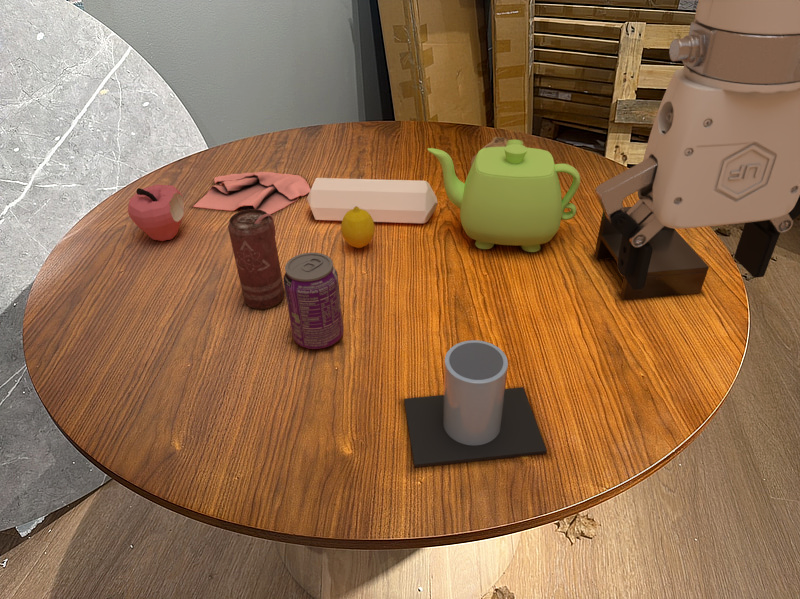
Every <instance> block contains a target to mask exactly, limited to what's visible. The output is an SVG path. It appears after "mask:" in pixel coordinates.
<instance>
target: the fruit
mask: <svg viewBox="0 0 800 599" xmlns="http://www.w3.org/2000/svg"><path fill="white" fill-rule="evenodd" d="M340 230H341V235H342V238H343V239H344V240H345V242H346V243H347V244H348V245H349V246H351V247H354V248H356V249H362V248H363V247H366V246H367V245H369V244H370V243H371V242H372V240H373V238H374V235H375V233H376V232H375V231H376V226H375V222H373V219H372V217H371V216H370V214H369V213H368V212H367V211H365V210H363V209H359V207H357V206H356V207H354V209H352V210H350V211H348V212H347V213H346V214H345V216H344V218H343V221H341V224H340Z"/></svg>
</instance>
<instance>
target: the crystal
mask: <svg viewBox="0 0 800 599" xmlns="http://www.w3.org/2000/svg"><path fill="white" fill-rule="evenodd" d="M310 189H311V190H310V192H309V194H307V197H306V201H307V203H308V205H309V208H310V210H311V212H312V215H313V217H314V220H316V221H339V222H342V221H343V218H344V216H345V214H346V213H347V212H348V211H350V210H352V209H354V207H356V206H357V207H359V209H363V210H365V211H367V212H368V213H369V214H370V216H371V217H372V219H373V222H374V223H399V224H402V223H403V224H426V223H427V222H428V221H429V220H430V219H431V217H432V216H433V214H434V212H435V211H436V210H437V206H438V204H439V203H438V198H437V195H436V194H435V192H434V190H433V188H432V186H431V184H430V183H429V182H428V181H427V180H413V179H410V180H408V179H380V178H379V179H374V178H373V179H372V178H340V177H339V178H337V177H335V178H334V177H315V180H314V182H313V184H312V186H311V187H310Z"/></svg>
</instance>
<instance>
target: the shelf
mask: <svg viewBox="0 0 800 599" xmlns="http://www.w3.org/2000/svg"><path fill="white" fill-rule="evenodd" d="M623 207H624V211H625V212H627V211H628V210H629V209H630V208H631V207H632V206H623ZM652 213H653V212H652V211H651V212H650V213H649V214H648V215H647V216H646V217H645V218H644V219H643V220H642V221H641V222H640V223H639V224H638V225H639V226H640V225H641V224H642V223H643V222H644V221H645V220H646V219H647V218H648V217H649V216H650V215H651V214H652ZM601 214H602V215H601V219H600V225H599V228H598V229H599V230H598V234H597V239H596V244H595V249H594V253H593V257H594V259H595V260H596V261H601V260H613V259H614V260H615V261H616V262H617V261H618V256H619V251H620V245H621V240H622V234H621V233H620V232H619V231H618V230H617V229H616V228H615V227H614V226H613V225H612V224H611V222H610V221H609V220H608V219H607V217H606V216H605V215H604V211H603V210H602V213H601ZM648 243H649V244H650V245H651V246H652V255H651V260H650V264H649V268H648V273H647V277H646V282H645V286H644V288H642V290H633V289H632V287H631V286H630V284H629V283H628V281H627V280H626V279H625V277H624V276H623V281H622V285H621V289H620V292H619V297H620V298H621V299H622V301H629V300H637V299H638V300H639V299H651V298H661V297H662V298H663V297H673V296H685V295H695V294H701V293H702V292H701V291H702V288H703V286H704V284H705V279H706V277H707V274H708V272H709V269H710V266H709V265H708V264H707V263H706V262H705V261H704V260H703V259H702V257H700V255H699V254H698V253H697V252H696V251H695V250H694V248H692V247H691V245H690V244H689V243H688V241H687V240H685V238H684V237H682V235H681V234H680V233H679V232H678V231H677V229H674V228H669V227H666V226H664V227H663V228H662V229H661V230H660V231H659V232H658V233H656V234H655V235H654V236H653V237H652V238H651V239H650V240H649V241H648Z"/></svg>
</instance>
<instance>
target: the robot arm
mask: <svg viewBox="0 0 800 599" xmlns="http://www.w3.org/2000/svg"><path fill="white" fill-rule="evenodd" d="M696 5H697V6H696V8H695V9H696V10H695V14H694V18H693V19H694V20H693V21H691V22H690V26H689V30H688V31H689V32H688V35H685V36H684V37H682V38H674V39H673V40H671V43H670V44H669V48H668V50H669V52H668V54H669V59H670V61H671V62H680V61H681V62H682V65H683V68H679V69H676V70H675V71H674V72H673V74H672V76H671V79H670V81H669V82H668V84H667V87H666V90H665V92H664V94H663V97H662V99H661V102H660V105H659V107H658V110H657V112H656V115H655V118H654V121H653V124H652V127H651V130H650V133H649V137H648V140H647V144H646V148H645V150H644V154H643V159H642V161H640V162H639V163H637V164H635V165H633V166H631V167H629V168H627V169H626V170H624V171H622V172H620V173H619V174H616V175H615V176H613V177H611V178H609V179H607V180H606V181H604V182H602V183H600V184H598V185H597V186H596V188H595V196H596V197H597V200H598V202H599V204H600V207H601V209H602V212H603V211H604V215H605V216H606V217H607V219H608V220H609V221H610V222H611V224H612V225H613V226H614V227H615V228H616V229H617V230H618V231H619V232H620V233H621V234H622V240H621V245H620V251H619V256H618V261H616V268H617V271H618V273H619V275H621V277H623V278H624V277H625V279H626V280H627V281H628V283H629V284H630V286H631V287H632V289H633V290H642V288H644V286H645V282H646V277H647V273H648V268H649V264H650V260H651V255H652V246H651V245H650V244H649V243H648V241H649V240H650V239H651V238H652V237H653V236H654V235H655V234H656V233H658V232H659V231H660V230H661V229H662V228H663V227H664V226H666V227H669V228H674V229H675V230H683V229H695V228H698V229H699V228H708V227H717V226H727V225H729V226H730V225H737V224H738V225H739V224H744V225H743V228H742V230H741V234H740V237H739V240H738V243H737V247H736V250H735V253H734V259H735V260H736V261H737V262H738V264H740V265H741V266H742V268H744V270H745V271H747V272H748V273H749V274H750V276H752V277H753V278H756V279H757V278H763V277H765V275H766V272H767V269H768V268H769V264H770V262H771V259H772V256H773V254H774V252H775V249H776V246H777V243H778V241H779V239H780V234H784V233H787V232H788V231H789V230H791V228H792V227H793V225H794V220H795V219H796V218H797V217H799V216H800V0H698V1H697V4H696ZM636 192H637V198H638V201H636V202H635V203H634V204H633V205H631V206H630V207H631V208H630V209H629V210H628V211H627V212H625V211H624V207H625V206H624V205H623V202H624V200H625V199H626V198H627V197H629V196H631V195H632V194H634V193H636ZM651 211H652V212H653V213H652V214H651V215H650V216H649V217H648V218H647V219H646V220H645V221H644V222H643V223H642V224H641V225H640V226H639V225H638V224H639V223H640V222H641V221H642V220H643V219H644V218H645V217H646V216H647V215H648V214H649V213H650V212H651Z"/></svg>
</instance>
